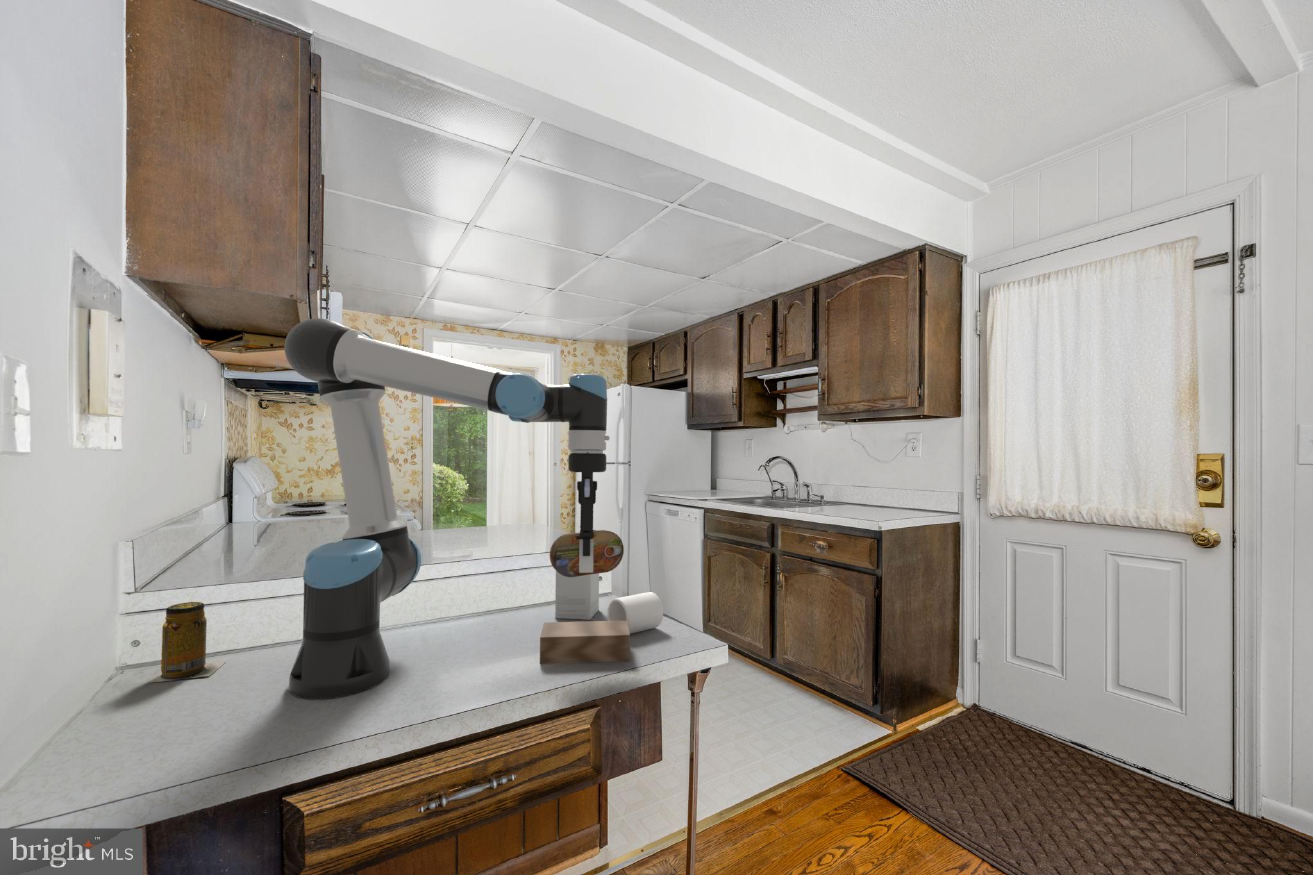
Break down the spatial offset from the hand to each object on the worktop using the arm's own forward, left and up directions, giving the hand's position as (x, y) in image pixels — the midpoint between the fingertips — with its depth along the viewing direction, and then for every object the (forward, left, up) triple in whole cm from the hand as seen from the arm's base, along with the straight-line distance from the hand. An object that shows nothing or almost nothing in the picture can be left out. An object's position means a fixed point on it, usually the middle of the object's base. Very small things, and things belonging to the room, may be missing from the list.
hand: (586, 569), depth 111 cm
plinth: (0, 0, -17) cm, 17 cm away
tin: (0, 0, -1) cm, 1 cm away
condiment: (-70, -3, -17) cm, 72 cm away
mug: (+10, +15, -17) cm, 25 cm away
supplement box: (-2, +27, -17) cm, 32 cm away
